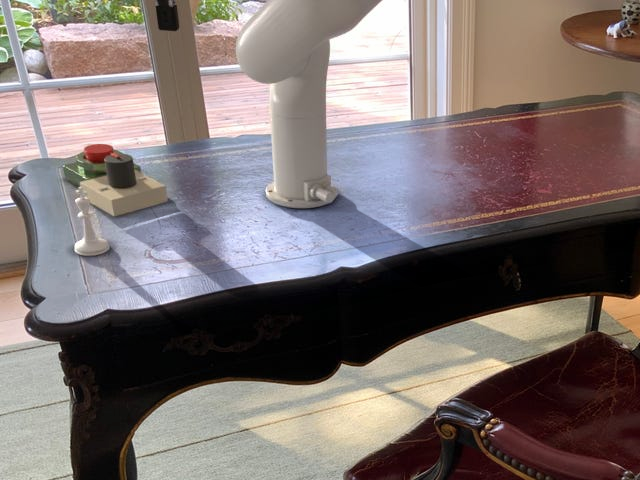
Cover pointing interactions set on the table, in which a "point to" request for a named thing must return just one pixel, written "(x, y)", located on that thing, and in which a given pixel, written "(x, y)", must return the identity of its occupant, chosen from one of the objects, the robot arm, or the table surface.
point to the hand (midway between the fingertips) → (169, 29)
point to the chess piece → (88, 229)
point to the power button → (98, 152)
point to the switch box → (87, 169)
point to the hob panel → (124, 194)
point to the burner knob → (120, 170)
